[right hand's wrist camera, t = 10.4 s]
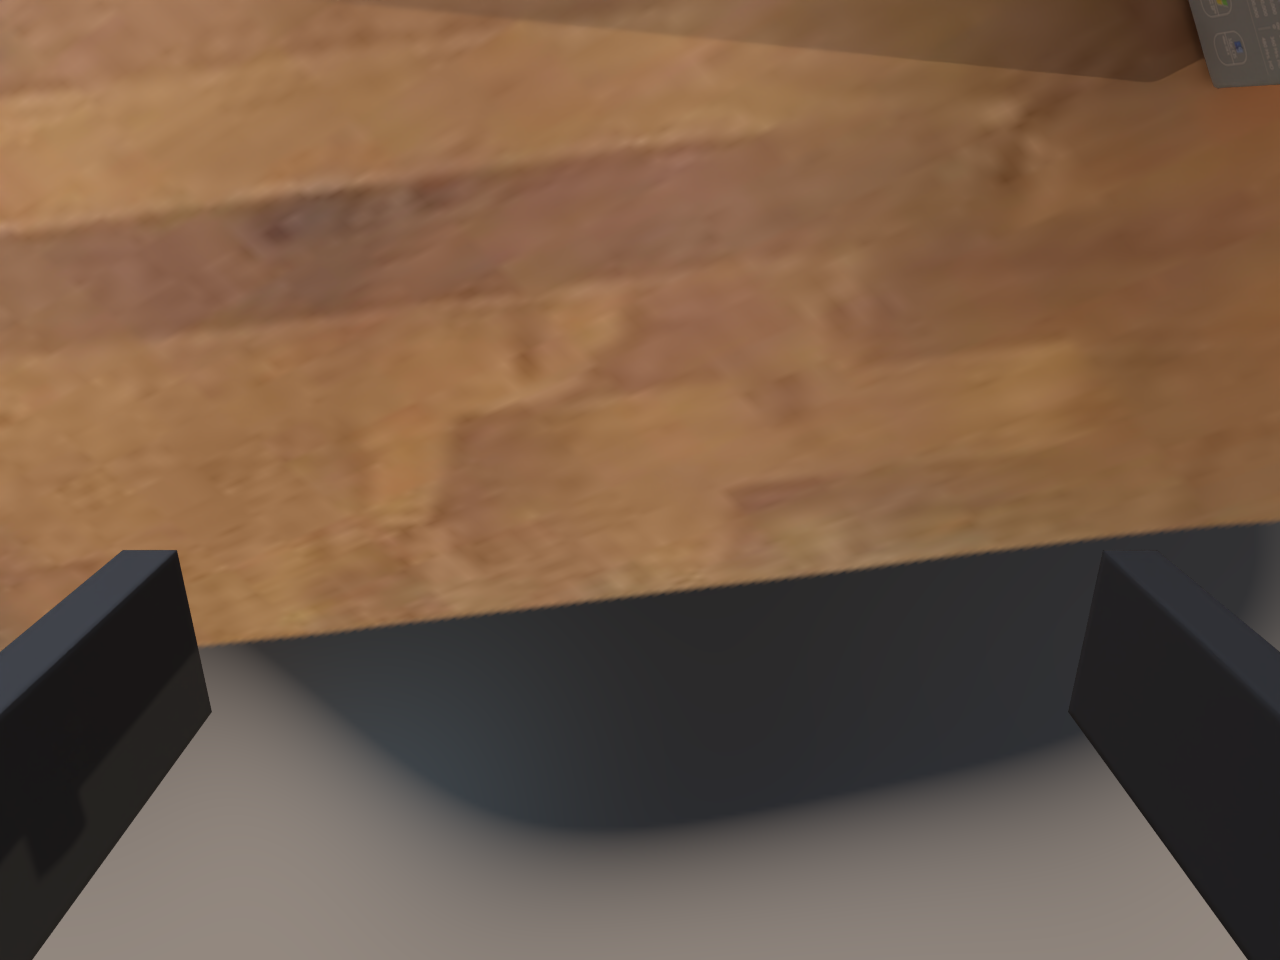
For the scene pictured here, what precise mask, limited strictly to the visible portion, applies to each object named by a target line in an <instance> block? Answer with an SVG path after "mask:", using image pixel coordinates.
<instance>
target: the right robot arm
mask: <svg viewBox="0 0 1280 960" xmlns="http://www.w3.org/2000/svg"><path fill="white" fill-rule="evenodd" d="M211 712H212V711H211V706H210V702H209V697H208V692H207V688H206V683H205V678H204V674H203V669H202V664H201V660H200V655H199V651H198V646H197V641H196V637H195V632H194V627H193V623H192V618H191V613H190V609H189V604H188V600H187V595H186V590H185V586H184V581H183V576H182V572H181V567H180V562H179V558H178V553H177V550H123V551H121V552H120V553H119V554H118V555H116V556H115V557H114V558H113V559H112V560H110V561H109V562H108V563H107V564H106V565H104V566H103V567H102V568H101V569H100V570H98V571H97V572H96V573H95V574H94V575H92V576H91V577H90V578H89V579H88V580H86V581H85V582H84V583H83V584H82V585H80V586H79V587H78V588H77V589H76V590H74V591H73V592H72V593H71V594H70V595H68V596H67V597H66V598H65V599H64V600H62V601H61V602H60V603H59V604H58V605H56V606H55V607H54V608H53V609H51V610H50V611H49V612H48V613H47V614H45V615H44V616H43V617H42V618H41V619H39V620H38V621H37V622H36V623H35V624H33V625H32V626H31V627H30V628H29V629H27V630H26V631H25V632H24V633H23V634H21V635H20V636H19V637H18V638H17V639H15V640H14V641H13V642H12V643H11V644H9V645H8V646H7V647H6V648H5V649H3V650H2V651H1V652H0V960H32V959H33V958H34V956H35V955H36V954H37V952H38V951H39V950H40V948H41V947H42V945H43V944H44V943H45V941H46V940H47V939H48V937H49V936H50V934H51V933H52V932H53V930H54V929H55V928H56V926H57V925H58V923H59V922H60V921H61V919H62V918H63V916H64V915H65V914H66V912H67V911H68V910H69V908H70V907H71V905H72V904H73V903H74V901H75V900H76V899H77V897H78V896H79V894H80V893H81V892H82V890H83V889H84V888H85V886H86V885H87V883H88V882H89V881H90V879H91V878H92V876H93V875H94V874H95V872H96V871H97V869H98V868H99V867H100V865H101V864H102V863H103V861H104V860H105V859H106V857H107V856H108V854H109V853H110V852H111V850H112V849H113V847H114V846H115V845H116V843H117V842H118V841H119V839H120V838H121V836H122V835H123V834H124V832H125V831H126V830H127V828H128V827H129V825H130V824H131V823H132V821H133V820H134V818H135V817H136V816H137V814H138V813H139V812H140V810H141V809H142V807H143V806H144V805H145V803H146V802H147V801H148V799H149V798H150V796H151V795H152V794H153V792H154V791H155V789H156V788H157V787H158V785H159V784H160V783H161V781H162V780H163V778H164V777H165V776H166V774H167V773H168V772H169V770H170V769H171V767H172V766H173V765H174V763H175V762H176V760H177V759H178V758H179V756H180V755H181V754H182V752H183V751H184V749H185V748H186V747H187V745H188V744H189V743H190V741H191V740H192V738H193V737H194V736H195V734H196V733H197V732H198V730H199V729H200V727H201V726H202V725H203V723H204V722H205V720H206V719H207V718H208V716H209V715H210V714H211ZM1068 712H1069V714H1070V715H1071V716H1072V718H1073V719H1074V720H1075V722H1076V723H1077V725H1078V726H1079V727H1080V729H1081V730H1082V732H1083V733H1084V734H1085V736H1086V737H1087V738H1088V740H1089V741H1090V743H1091V744H1092V745H1093V747H1094V748H1095V749H1096V751H1097V752H1098V754H1099V755H1100V756H1101V758H1102V759H1103V760H1104V762H1105V763H1106V764H1107V766H1108V767H1109V769H1110V770H1111V772H1112V773H1113V774H1114V776H1115V777H1116V778H1117V780H1118V781H1119V783H1120V784H1121V785H1122V787H1123V788H1124V789H1125V791H1126V792H1127V794H1128V795H1129V796H1130V798H1131V799H1132V801H1133V802H1134V803H1135V805H1136V806H1137V807H1138V809H1139V810H1140V812H1141V813H1142V814H1143V816H1144V817H1145V818H1146V820H1147V821H1148V823H1149V824H1150V825H1151V827H1152V828H1153V830H1154V831H1155V832H1156V834H1157V835H1158V836H1159V838H1160V839H1161V841H1162V842H1163V843H1164V845H1165V846H1166V847H1167V849H1168V850H1169V852H1170V853H1171V854H1172V856H1173V857H1174V859H1175V860H1176V861H1177V863H1178V864H1179V865H1180V867H1181V868H1182V869H1183V871H1184V872H1185V874H1186V875H1187V876H1188V878H1189V879H1190V881H1191V882H1192V883H1193V885H1194V886H1195V888H1196V889H1197V890H1198V892H1199V893H1200V894H1201V896H1202V897H1203V899H1204V900H1205V901H1206V903H1207V904H1208V905H1209V907H1210V908H1211V910H1212V911H1213V912H1214V914H1215V915H1216V916H1217V918H1218V919H1219V921H1220V922H1221V923H1222V925H1223V926H1224V928H1225V929H1226V930H1227V932H1228V933H1229V934H1230V936H1231V937H1232V939H1233V940H1234V941H1235V943H1236V944H1237V945H1238V947H1239V948H1240V950H1241V951H1242V952H1243V954H1244V955H1245V956H1246V958H1247V959H1248V960H1280V652H1279V651H1278V650H1277V649H1275V648H1274V647H1273V646H1272V645H1271V644H1269V643H1268V642H1267V641H1266V640H1265V639H1263V638H1262V637H1261V636H1260V635H1259V634H1257V633H1256V632H1255V631H1254V630H1253V629H1251V628H1250V627H1249V626H1248V625H1247V624H1245V623H1244V622H1243V621H1242V620H1241V619H1239V618H1238V617H1237V616H1236V615H1234V614H1233V613H1232V612H1231V611H1230V610H1229V609H1227V608H1226V607H1225V606H1224V605H1222V604H1221V603H1220V602H1219V601H1218V600H1216V599H1215V598H1214V597H1213V596H1212V595H1210V594H1209V593H1208V592H1207V591H1206V590H1204V589H1203V588H1202V587H1201V586H1200V585H1198V584H1197V583H1196V582H1195V581H1194V580H1192V579H1191V578H1190V577H1189V576H1188V575H1186V574H1185V573H1184V572H1183V571H1182V570H1180V569H1179V568H1178V567H1177V566H1176V565H1174V564H1173V563H1172V562H1171V561H1170V560H1168V559H1167V558H1166V557H1165V556H1164V555H1162V554H1161V553H1160V552H1159V551H1157V550H1103V553H1102V558H1101V563H1100V567H1099V572H1098V576H1097V581H1096V586H1095V590H1094V595H1093V600H1092V604H1091V609H1090V613H1089V618H1088V623H1087V627H1086V632H1085V637H1084V641H1083V646H1082V651H1081V655H1080V660H1079V665H1078V669H1077V674H1076V678H1075V683H1074V688H1073V692H1072V697H1071V702H1070V706H1069V711H1068Z"/></svg>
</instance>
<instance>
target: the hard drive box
mask: <svg viewBox="0 0 1280 960" xmlns="http://www.w3.org/2000/svg"><path fill="white" fill-rule="evenodd" d="M1188 1H1189V4H1190V8H1191V11H1192V14H1193V18H1194V21H1195V25H1196V28H1197V32H1198V35H1199V39H1200V43H1201V46H1202V50H1203V54H1204V57H1205V60H1206V64H1207V67H1208V71H1209V74H1210V77H1211V80H1212V83H1213V85H1214V87H1216V88H1223V87H1244V86H1261V85H1278V84H1280V0H1188Z"/></svg>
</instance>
